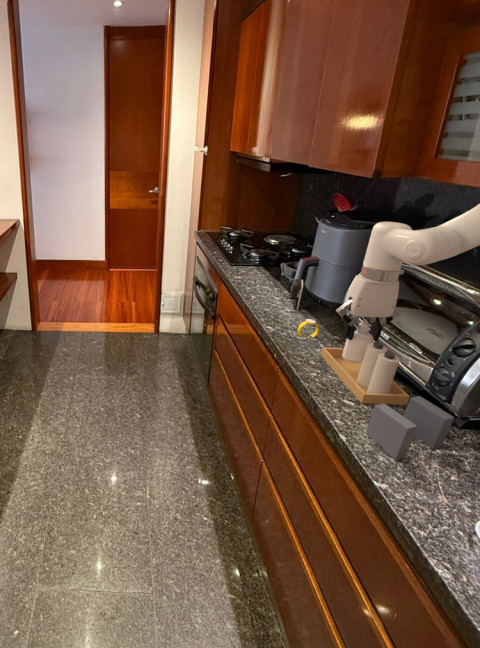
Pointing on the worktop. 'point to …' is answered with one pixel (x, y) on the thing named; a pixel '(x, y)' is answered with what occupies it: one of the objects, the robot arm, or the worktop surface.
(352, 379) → the tray
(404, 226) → the robot arm
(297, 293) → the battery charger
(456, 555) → the worktop surface
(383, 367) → the white bottles
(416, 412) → the grey rectangular blocks
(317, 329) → the watch
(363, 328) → the eye dropper bottle
